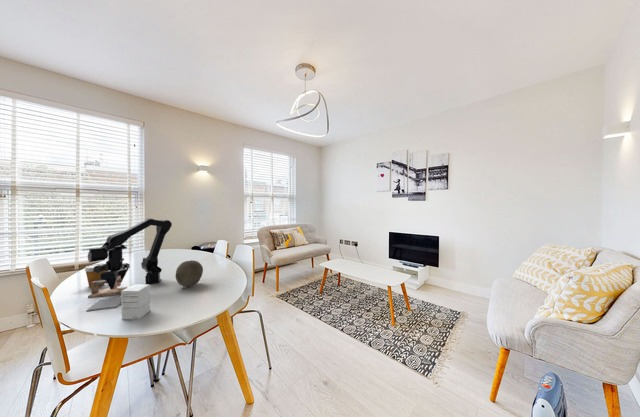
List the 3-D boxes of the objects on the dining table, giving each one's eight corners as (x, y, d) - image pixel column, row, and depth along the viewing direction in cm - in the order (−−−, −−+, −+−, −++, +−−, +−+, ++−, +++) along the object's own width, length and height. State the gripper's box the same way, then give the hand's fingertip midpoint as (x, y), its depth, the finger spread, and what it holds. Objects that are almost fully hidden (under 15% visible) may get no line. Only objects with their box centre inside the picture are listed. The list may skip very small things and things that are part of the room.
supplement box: (133, 311, 102) (133, 284, 101) (150, 310, 103) (150, 284, 102) (120, 319, 95) (120, 290, 94) (139, 319, 95) (138, 290, 95)
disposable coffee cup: (111, 283, 133) (111, 264, 133) (91, 289, 124) (90, 268, 124) (101, 281, 136) (101, 262, 136) (81, 287, 127) (80, 267, 127)
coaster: (126, 297, 115) (126, 296, 115) (116, 307, 105) (116, 306, 105) (99, 301, 111) (99, 299, 111) (86, 311, 101) (86, 310, 101)
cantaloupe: (204, 287, 130) (204, 262, 130) (176, 292, 123) (175, 265, 122) (201, 279, 142) (201, 256, 142) (175, 284, 134) (175, 260, 134)
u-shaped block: (120, 285, 125) (120, 275, 125) (116, 289, 120) (115, 278, 119) (116, 285, 124) (116, 276, 124) (111, 289, 119) (111, 279, 119)
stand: (88, 297, 115) (87, 284, 114) (96, 291, 122) (96, 279, 122) (120, 294, 120) (120, 281, 119) (127, 288, 127) (127, 276, 127)
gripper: (105, 255, 127) (106, 281, 128) (85, 264, 110) (86, 294, 110) (129, 253, 131) (130, 279, 132) (114, 262, 114) (114, 291, 114)
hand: (116, 285), depth 122 cm, fingers open, 9 cm apart
